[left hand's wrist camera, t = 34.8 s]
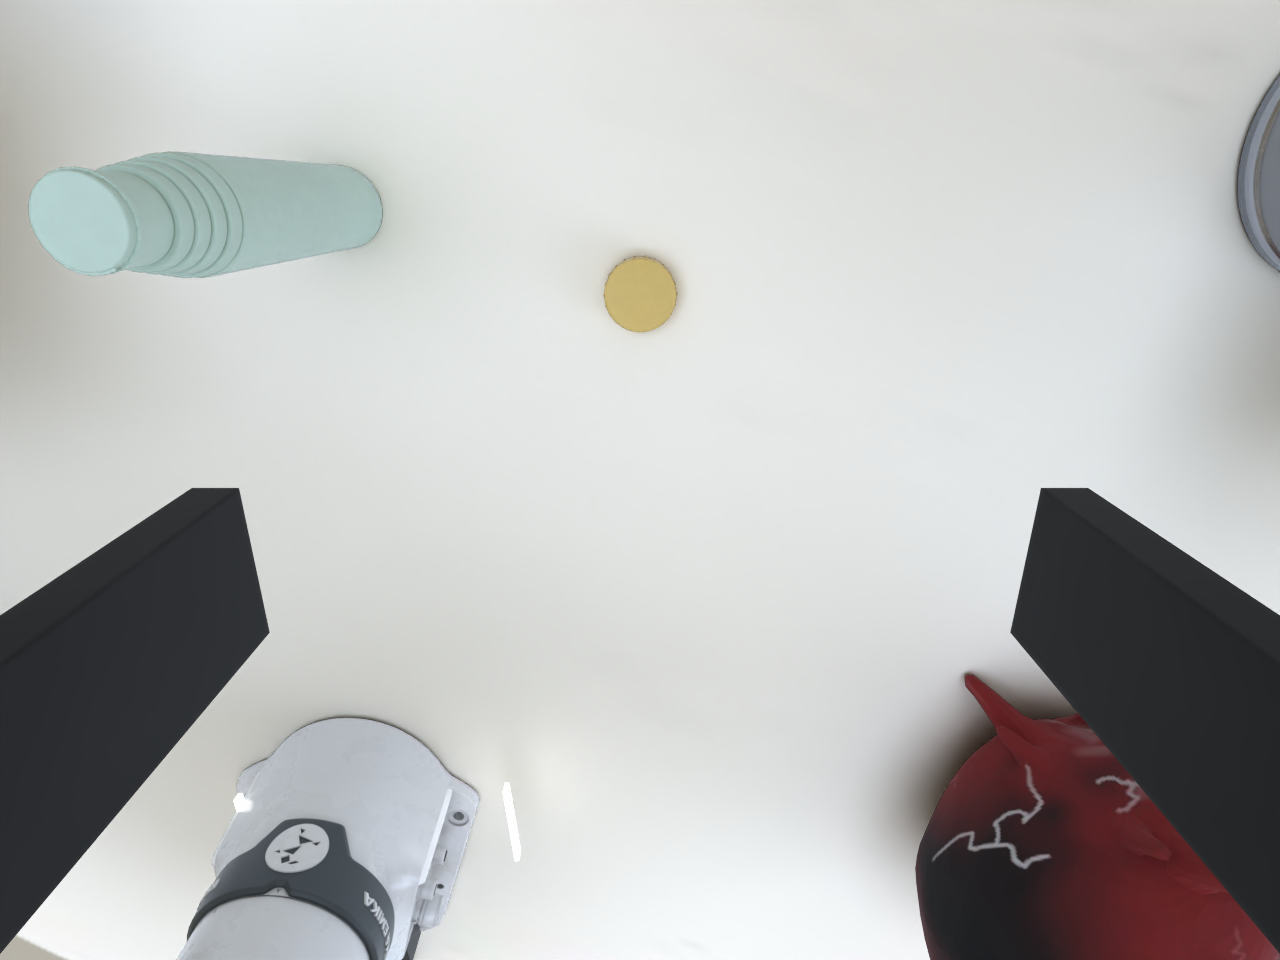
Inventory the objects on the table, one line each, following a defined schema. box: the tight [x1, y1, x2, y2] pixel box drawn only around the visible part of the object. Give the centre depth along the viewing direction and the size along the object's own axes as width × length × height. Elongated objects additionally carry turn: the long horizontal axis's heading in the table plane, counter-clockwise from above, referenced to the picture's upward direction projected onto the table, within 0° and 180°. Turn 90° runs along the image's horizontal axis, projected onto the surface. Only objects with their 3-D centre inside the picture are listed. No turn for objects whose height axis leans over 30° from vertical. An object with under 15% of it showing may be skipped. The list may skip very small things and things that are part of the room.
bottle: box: [28, 152, 382, 278], centre depth 33 cm, size 5×5×22 cm
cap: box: [604, 256, 677, 332], centre depth 45 cm, size 4×4×2 cm
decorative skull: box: [915, 675, 1280, 960], centre depth 51 cm, size 21×24×25 cm
